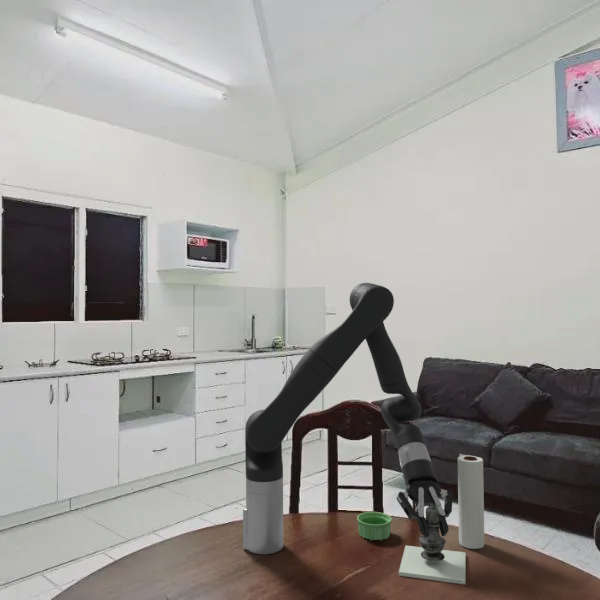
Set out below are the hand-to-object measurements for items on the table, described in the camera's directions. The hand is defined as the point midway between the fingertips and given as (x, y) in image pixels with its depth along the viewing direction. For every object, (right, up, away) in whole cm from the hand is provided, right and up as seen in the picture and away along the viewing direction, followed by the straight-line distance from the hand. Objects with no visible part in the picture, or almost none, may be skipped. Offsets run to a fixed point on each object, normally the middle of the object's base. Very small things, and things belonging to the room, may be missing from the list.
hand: (435, 534), depth 121 cm
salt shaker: (0, -6, +2) cm, 6 cm away
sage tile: (0, -8, +2) cm, 8 cm away
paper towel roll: (+12, -8, +13) cm, 20 cm away
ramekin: (-11, -9, +19) cm, 24 cm away
